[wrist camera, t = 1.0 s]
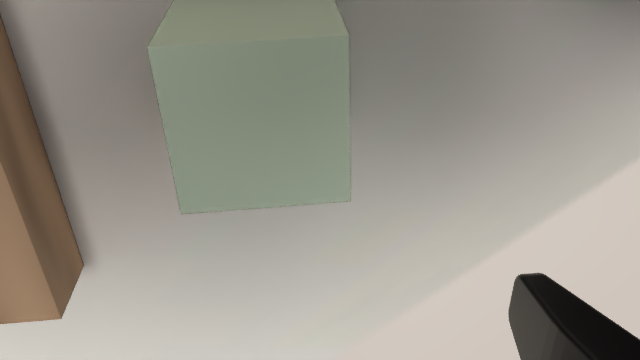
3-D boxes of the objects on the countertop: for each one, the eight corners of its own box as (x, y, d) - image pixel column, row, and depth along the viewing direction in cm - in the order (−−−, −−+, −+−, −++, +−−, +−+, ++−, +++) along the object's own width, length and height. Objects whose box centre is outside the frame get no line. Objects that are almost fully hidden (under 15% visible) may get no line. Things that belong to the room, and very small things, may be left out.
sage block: (329, -12, 18) (349, 35, 14) (333, 127, 21) (350, 201, 17) (174, -3, 18) (146, 47, 14) (198, 136, 21) (180, 214, 16)
